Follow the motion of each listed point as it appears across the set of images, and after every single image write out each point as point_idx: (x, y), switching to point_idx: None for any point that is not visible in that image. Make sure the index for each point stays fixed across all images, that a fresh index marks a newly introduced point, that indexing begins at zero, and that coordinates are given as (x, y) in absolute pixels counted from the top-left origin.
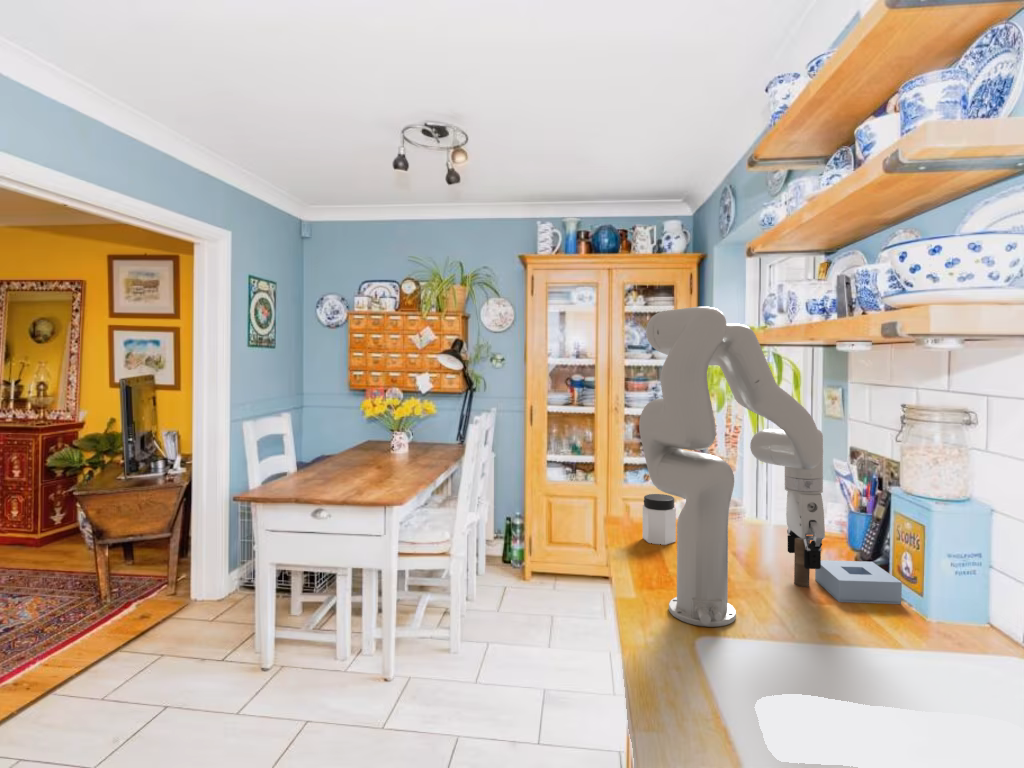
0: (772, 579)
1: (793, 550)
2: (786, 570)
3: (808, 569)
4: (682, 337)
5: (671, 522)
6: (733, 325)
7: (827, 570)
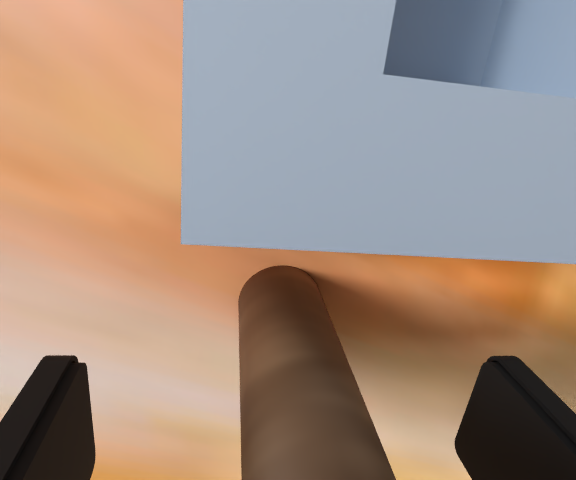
0: (207, 417)
1: (86, 452)
2: (29, 303)
3: (338, 344)
4: None
5: None
6: None
7: (456, 257)
